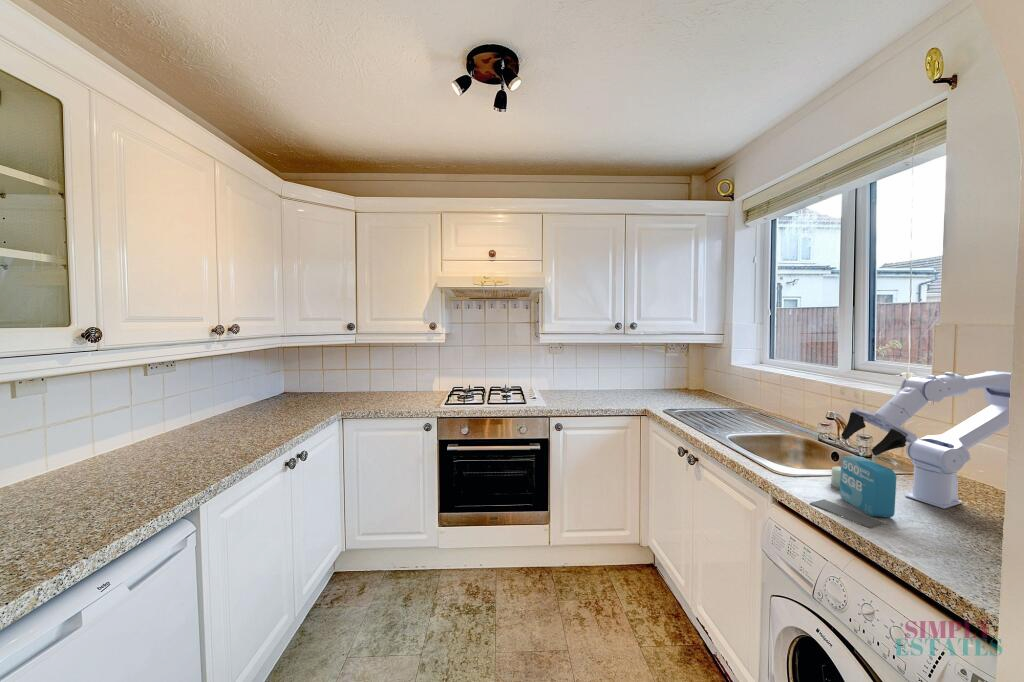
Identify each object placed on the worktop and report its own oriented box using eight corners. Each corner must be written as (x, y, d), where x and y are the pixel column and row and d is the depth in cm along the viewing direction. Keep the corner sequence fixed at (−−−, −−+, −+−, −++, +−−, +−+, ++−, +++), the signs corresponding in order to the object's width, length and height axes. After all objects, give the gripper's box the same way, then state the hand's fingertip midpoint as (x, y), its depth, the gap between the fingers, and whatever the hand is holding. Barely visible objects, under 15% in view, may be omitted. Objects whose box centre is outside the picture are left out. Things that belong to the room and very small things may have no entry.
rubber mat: (824, 500, 105) (824, 499, 105) (884, 523, 93) (884, 522, 93) (809, 504, 103) (809, 502, 103) (869, 528, 91) (869, 526, 91)
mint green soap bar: (838, 481, 118) (839, 465, 118) (862, 489, 113) (863, 472, 112) (826, 484, 116) (827, 468, 116) (850, 492, 110) (850, 475, 110)
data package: (838, 497, 108) (840, 454, 107) (856, 498, 107) (858, 455, 107) (874, 518, 96) (877, 470, 95) (894, 519, 95) (897, 471, 95)
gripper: (863, 390, 109) (826, 422, 110) (927, 415, 96) (885, 451, 96) (869, 405, 112) (833, 436, 112) (932, 432, 99) (891, 467, 99)
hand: (857, 444), depth 105 cm, fingers open, 7 cm apart
